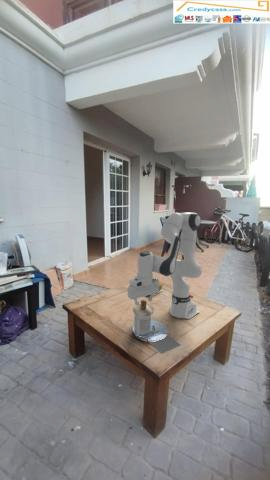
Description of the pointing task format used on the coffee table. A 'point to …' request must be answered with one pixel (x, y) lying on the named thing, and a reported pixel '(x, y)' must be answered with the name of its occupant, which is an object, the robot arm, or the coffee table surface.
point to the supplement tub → (142, 325)
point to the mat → (165, 344)
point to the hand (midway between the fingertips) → (143, 302)
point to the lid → (143, 309)
